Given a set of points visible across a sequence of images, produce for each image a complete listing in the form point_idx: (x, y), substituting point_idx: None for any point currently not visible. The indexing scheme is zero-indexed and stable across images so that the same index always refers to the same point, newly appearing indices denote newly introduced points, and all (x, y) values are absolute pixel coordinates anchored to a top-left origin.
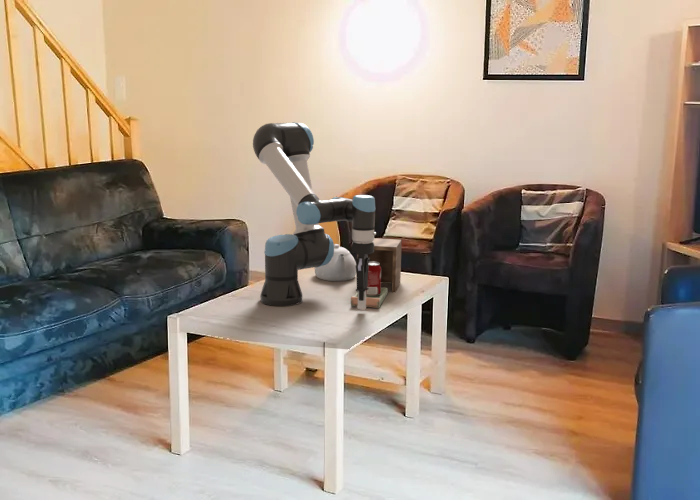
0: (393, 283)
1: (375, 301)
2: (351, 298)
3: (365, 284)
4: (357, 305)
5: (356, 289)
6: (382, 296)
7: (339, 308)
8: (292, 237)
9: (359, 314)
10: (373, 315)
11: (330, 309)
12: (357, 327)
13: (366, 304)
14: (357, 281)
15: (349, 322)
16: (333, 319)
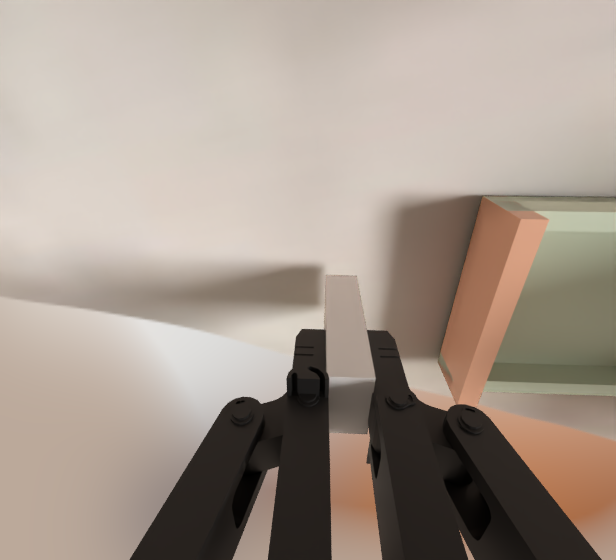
0: None
1: (456, 373)
2: (514, 218)
3: (375, 489)
4: (471, 247)
5: (298, 383)
6: (594, 394)
7: (428, 106)
8: None
9: (297, 278)
10: None
11: (387, 20)
12: (49, 303)
13: (460, 309)
14: (149, 541)
15: (109, 248)
16: (113, 126)
